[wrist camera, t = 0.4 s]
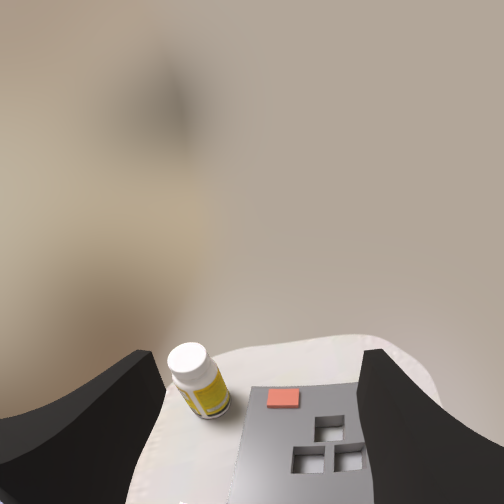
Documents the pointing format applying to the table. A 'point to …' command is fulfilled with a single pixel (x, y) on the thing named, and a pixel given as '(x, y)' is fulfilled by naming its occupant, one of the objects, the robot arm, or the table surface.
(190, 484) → the table surface
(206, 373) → the supplement bottle
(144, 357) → the robot arm
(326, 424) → the socket
